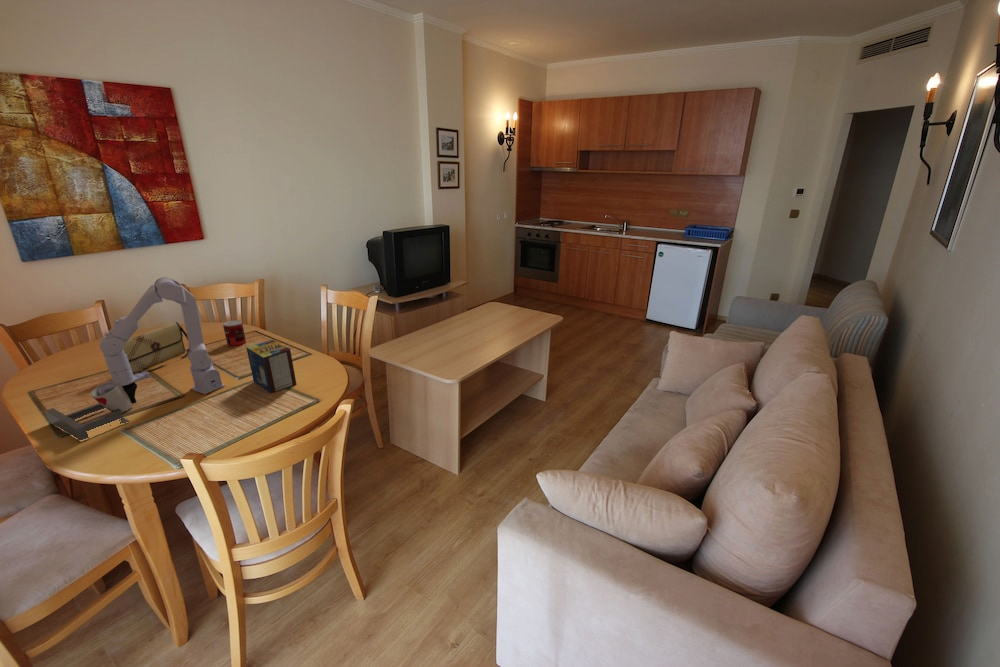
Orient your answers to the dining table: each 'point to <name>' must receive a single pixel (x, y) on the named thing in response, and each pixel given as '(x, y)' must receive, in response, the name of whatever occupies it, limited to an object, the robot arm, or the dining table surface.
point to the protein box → (271, 365)
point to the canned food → (234, 333)
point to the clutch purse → (155, 347)
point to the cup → (113, 398)
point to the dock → (76, 428)
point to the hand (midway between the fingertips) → (132, 402)
